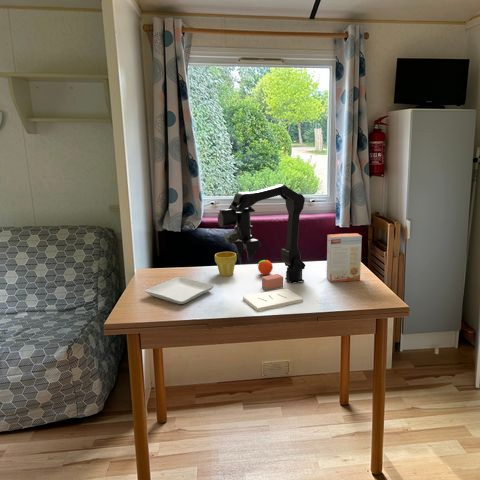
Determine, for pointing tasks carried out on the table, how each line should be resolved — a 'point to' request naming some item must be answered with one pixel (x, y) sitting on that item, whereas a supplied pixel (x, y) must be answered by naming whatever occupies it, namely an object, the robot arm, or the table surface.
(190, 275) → the table surface
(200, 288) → the salad plate
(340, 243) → the cracker box
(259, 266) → the clementine
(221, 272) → the plant pot
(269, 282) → the block
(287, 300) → the board
